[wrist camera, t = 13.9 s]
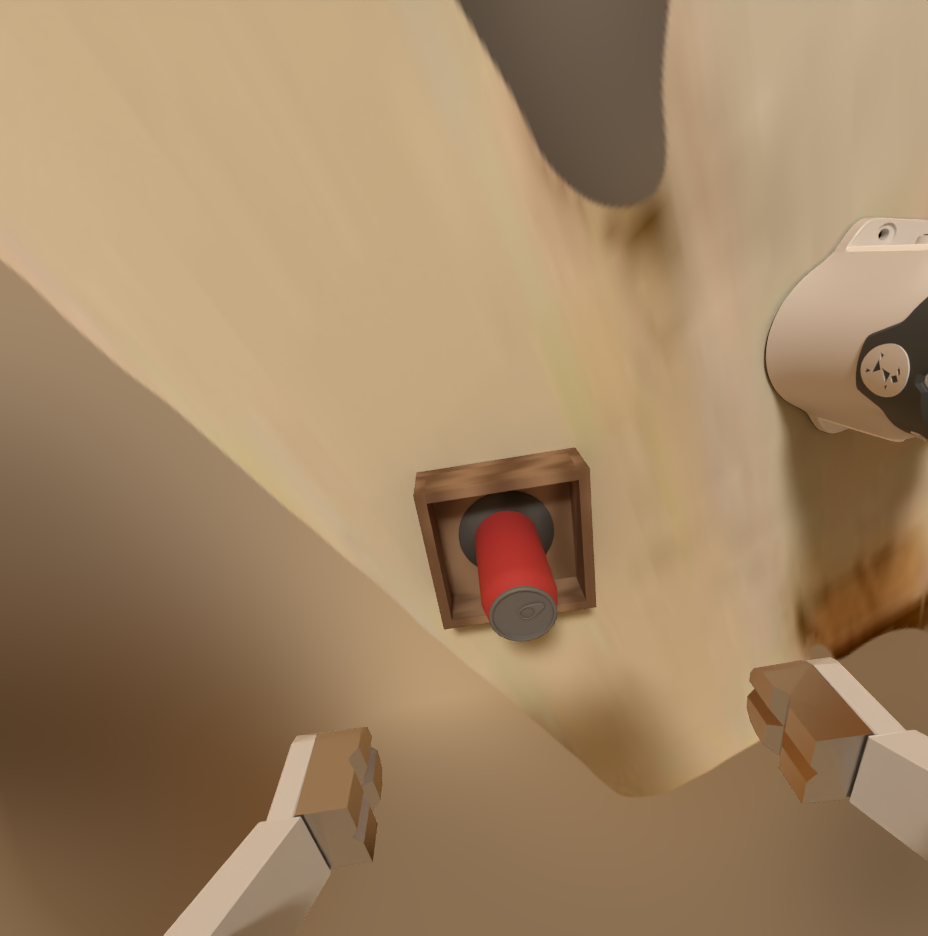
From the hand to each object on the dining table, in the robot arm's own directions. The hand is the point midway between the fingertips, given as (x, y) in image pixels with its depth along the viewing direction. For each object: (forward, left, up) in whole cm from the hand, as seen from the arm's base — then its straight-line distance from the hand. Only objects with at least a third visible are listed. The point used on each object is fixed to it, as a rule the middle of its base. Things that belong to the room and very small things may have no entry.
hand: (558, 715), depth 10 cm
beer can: (-1, +18, -34) cm, 38 cm away
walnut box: (-1, +18, -35) cm, 39 cm away
